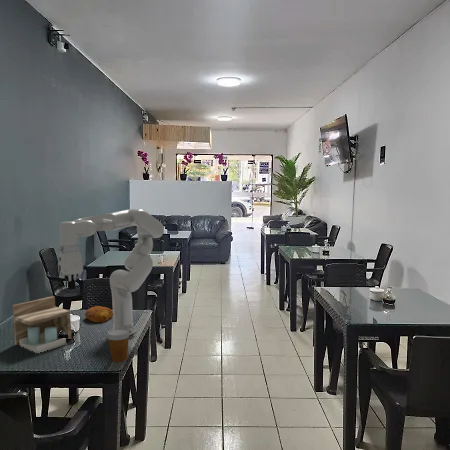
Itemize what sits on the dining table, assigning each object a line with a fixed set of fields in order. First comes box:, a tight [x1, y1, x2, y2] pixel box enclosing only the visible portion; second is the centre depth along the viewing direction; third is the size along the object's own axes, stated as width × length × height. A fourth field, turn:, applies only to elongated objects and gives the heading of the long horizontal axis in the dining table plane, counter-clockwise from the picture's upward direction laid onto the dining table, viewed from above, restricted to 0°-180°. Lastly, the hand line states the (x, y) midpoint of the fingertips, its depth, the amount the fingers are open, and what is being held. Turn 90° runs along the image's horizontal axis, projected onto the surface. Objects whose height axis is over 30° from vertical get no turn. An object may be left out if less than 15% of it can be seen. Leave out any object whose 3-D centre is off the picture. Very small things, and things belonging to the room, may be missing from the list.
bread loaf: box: [84, 305, 113, 323], centre depth 238 cm, size 14×16×8 cm
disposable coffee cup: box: [106, 328, 131, 363], centre depth 181 cm, size 10×10×12 cm
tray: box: [19, 326, 67, 354], centre depth 199 cm, size 16×14×8 cm
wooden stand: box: [12, 295, 72, 346], centre depth 202 cm, size 15×20×19 cm
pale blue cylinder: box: [45, 326, 58, 344], centre depth 198 cm, size 5×5×8 cm
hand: (71, 289), depth 194 cm, fingers closed
